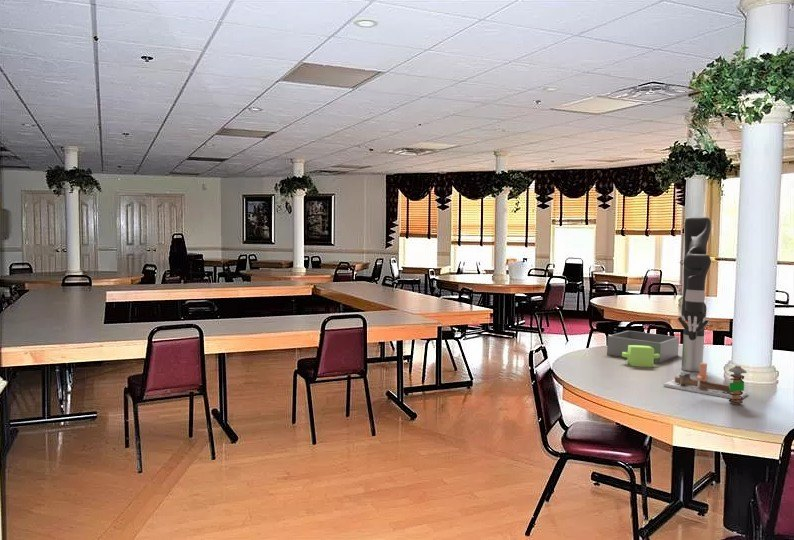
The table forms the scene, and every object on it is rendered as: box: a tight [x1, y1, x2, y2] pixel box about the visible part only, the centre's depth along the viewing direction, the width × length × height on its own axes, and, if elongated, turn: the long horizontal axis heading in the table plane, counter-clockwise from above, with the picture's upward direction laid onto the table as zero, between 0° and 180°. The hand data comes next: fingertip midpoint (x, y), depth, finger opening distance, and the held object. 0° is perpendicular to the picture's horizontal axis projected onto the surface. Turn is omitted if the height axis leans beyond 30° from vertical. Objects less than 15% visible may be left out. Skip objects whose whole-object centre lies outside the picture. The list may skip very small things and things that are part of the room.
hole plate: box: [663, 378, 749, 399], centre depth 270 cm, size 12×30×1 cm, turn 48°
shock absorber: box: [728, 365, 748, 406], centre depth 250 cm, size 6×6×15 cm
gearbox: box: [622, 345, 660, 368], centre depth 319 cm, size 18×10×10 cm, turn 84°
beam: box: [674, 371, 741, 393], centre depth 270 cm, size 8×26×4 cm, turn 48°
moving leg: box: [695, 362, 709, 387], centre depth 271 cm, size 8×3×9 cm, turn 138°
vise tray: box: [606, 330, 680, 364], centre depth 344 cm, size 28×28×10 cm
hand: (692, 340), depth 275 cm, fingers closed
